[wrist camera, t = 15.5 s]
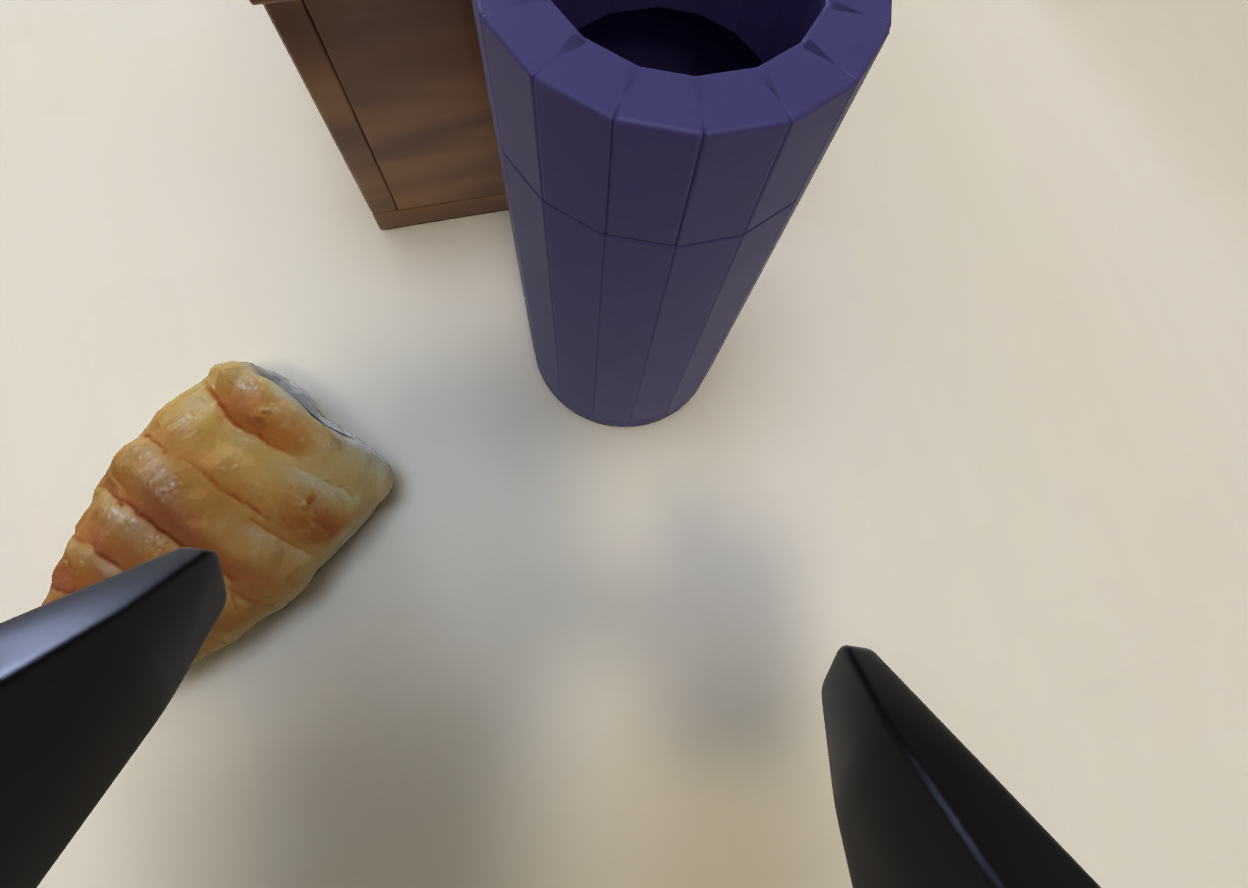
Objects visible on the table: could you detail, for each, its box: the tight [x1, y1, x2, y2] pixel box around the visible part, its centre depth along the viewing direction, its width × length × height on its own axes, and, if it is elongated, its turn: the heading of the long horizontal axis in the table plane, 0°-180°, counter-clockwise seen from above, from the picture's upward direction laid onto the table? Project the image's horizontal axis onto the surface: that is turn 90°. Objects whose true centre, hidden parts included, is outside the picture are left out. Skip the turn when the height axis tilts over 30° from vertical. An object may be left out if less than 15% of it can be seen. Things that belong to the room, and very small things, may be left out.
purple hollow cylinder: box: [472, 0, 892, 427], centre depth 15 cm, size 6×6×13 cm
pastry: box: [42, 361, 393, 665], centre depth 17 cm, size 9×7×4 cm
